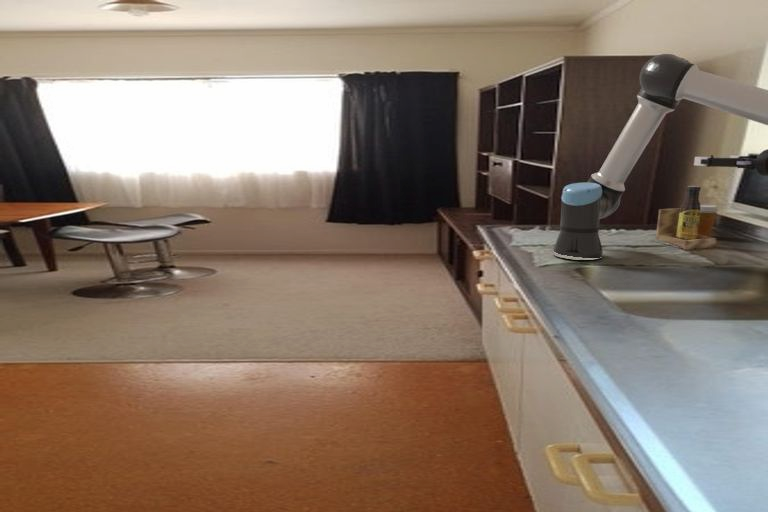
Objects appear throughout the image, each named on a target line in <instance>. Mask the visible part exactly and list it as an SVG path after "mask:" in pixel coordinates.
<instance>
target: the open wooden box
mask: <svg viewBox="0 0 768 512" xmlns="http://www.w3.org/2000/svg"><path fill="white" fill-rule="evenodd" d="M680 210H681V207H680V208H679V207H677V208H676V207H675V208H663V209H662V208H661V209H658V216H657V223H656V234H655V240H656V239H657V240H660V241H663V242H666V243H669V244H672V245H675V246H678V247H680V248H679V249H681V248H683V249H682V250H693V249H694V248H696V249H705V248H706V249H707V248H708V247H709V248H716V247H717V238H715V237H711V236H710V237H707V236H702V235H698V234H697V237H696V239H695V240H683V239H679V238H676V233H677V227H678V220H679V214H680ZM694 250H695V249H694Z"/></svg>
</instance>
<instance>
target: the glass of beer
mask: <svg viewBox="0 0 768 512" xmlns="http://www.w3.org/2000/svg"><path fill="white" fill-rule="evenodd" d="M700 210H701V212H700V218H699V224H698V231H697V234H698V235H702V236H707V237H711V232H712V230H713V225H714V223H715V222H714V221H715V219H716V215H717V213H718V211H719V209H718V206H717V205H715V204H704V203H703V204H702V203H700Z"/></svg>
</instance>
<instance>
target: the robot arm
mask: <svg viewBox="0 0 768 512" xmlns="http://www.w3.org/2000/svg"><path fill="white" fill-rule="evenodd" d="M639 84H640V87H641V88H640V90H639V91H638V93H637V95H636V98H637V101H638V102H637V105H636V107H635V109H634V110H633V112H632V114H631V116H630V117H629V119H628V121H627V122H626V124H625V126H624V127H623V129H622V130H621V132H620V134H619V136H618V138H617V140H616V141H615V143H614V144H613V147H612V148H611V150H610V151H609V153H608V155H607V157H606V159H605V160H604V162H603V164H602V166H601V168H600V169H599V171H598V172H595V173H592V174H591V176H590V177H589V178H588V180H587V181H586V182H576V183H575V182H574V183H570V184H567V185H565V186H564V187H563V189H562V194H561V197H560V198H561V207H560V223H559V225H560V227H559V233H558V236H557V239H556V241H555V243H554V246H553V250H552V252H553V251H554V252H556V253H558V254H561V255H567V256H573V257H582V258H600V257H602V258H603V254H604V253H603V252H604V250H603V247H602V243H601V242H602V241H601V239H600V235H599V231H600V229H599V228H600V219H605V218H607V217H610V216H611V215H613V214H614V213H615V212H616V211H617V209H618V208H619V206H620V203H621V197H622V195H623V194H624V192H625V190H626V188H625V182H626V180H627V179H628V177H629V175H630V174H631V172H632V170H633V169H634V168H635V167H634V166H635V165H636V163H637V162H638V160H639V158H640V157H641V155H642V154H643V152H644V150H645V149H646V147H647V146H648V144H649V143H650V141H651V139H652V137H653V136H654V134H655V132H656V131H657V129H658V127H659V126H660V124H661V122H662V121H663V119H664V118H665V116H666V115H667V114H668V113H671V112H674V111H675V110H676V108H677V106H678V105H679V103H680V102H681V100H687V101H691V102H694V103H697V104H700V105H703V106H706V107H709V108H712V109H716V110H719V111H722V112H725V113H727V114H731V115H734V116H737V117H740V118H744V119H746V120H750V121H752V122H756V123H759V124H762V125H765V126H768V89H765V88H762V87H759V86H756V85H752V84H748V83H744V82H742V81H738V80H734V79H731V78H727V77H724V76H721V75H717V74H714V73H710V72H707V71H703V70H700V69H699V66H698V65H697V64H695V63H692V62H690V61H689V60H687V59H685V58H683V57H680V56H678V55H675V54H672V53H661V54H658V55H655V56H654V57H651V58H650V59H649V60H647V62H645V64H644V65H643V66H642V69H641V70H640V73H639ZM693 161H694V162H693V166H699V167H701V166H702V167H708V168H711V167H712V168H713V167H714V168H715V167H718V168H719V167H720V168H721V167H722V168H723V167H724V168H738V169H748V170H756V172H757V173H758V174H759V175H761V176H763V177H768V149H764V150H763V151H762V152H760V153H759V154H758V155H754V154H753V155H752V154H751V155H729V157H715V156H714V155H711V154H710V156H694V160H693Z"/></svg>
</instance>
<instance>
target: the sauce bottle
mask: <svg viewBox="0 0 768 512" xmlns="http://www.w3.org/2000/svg"><path fill="white" fill-rule="evenodd" d="M701 188H702V187H701V186H699V185H687V187H686V197H685V200H683V202H682V203H681V205H680V208H681V210H680V214H679V220H678V227H677V233H676V238H679V239H683V240H695V239H696V237H697V231H698V224H699V218H700V212H701V210H700V204H701V203H700V200H699V199H700V197H699V196H700V191H701Z"/></svg>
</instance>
